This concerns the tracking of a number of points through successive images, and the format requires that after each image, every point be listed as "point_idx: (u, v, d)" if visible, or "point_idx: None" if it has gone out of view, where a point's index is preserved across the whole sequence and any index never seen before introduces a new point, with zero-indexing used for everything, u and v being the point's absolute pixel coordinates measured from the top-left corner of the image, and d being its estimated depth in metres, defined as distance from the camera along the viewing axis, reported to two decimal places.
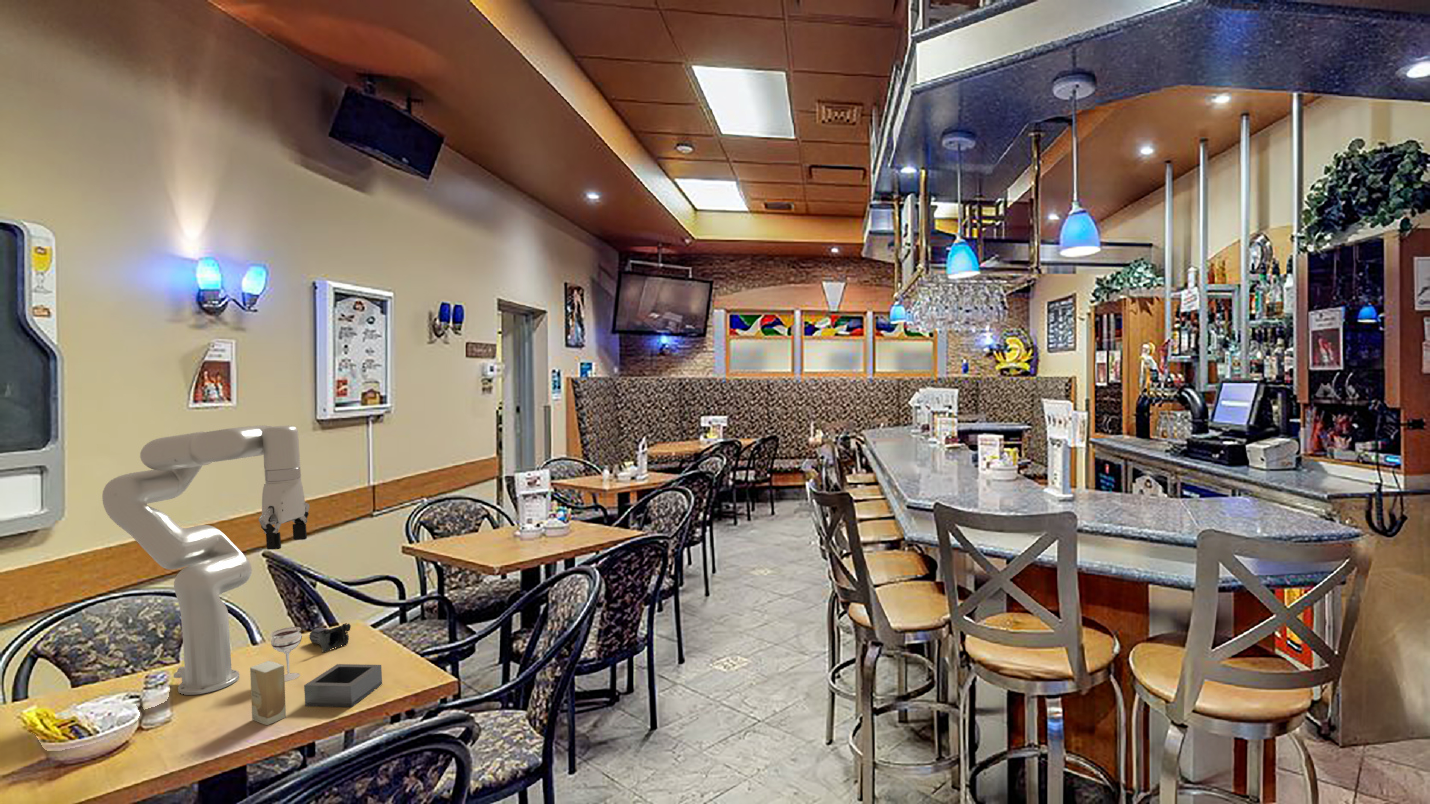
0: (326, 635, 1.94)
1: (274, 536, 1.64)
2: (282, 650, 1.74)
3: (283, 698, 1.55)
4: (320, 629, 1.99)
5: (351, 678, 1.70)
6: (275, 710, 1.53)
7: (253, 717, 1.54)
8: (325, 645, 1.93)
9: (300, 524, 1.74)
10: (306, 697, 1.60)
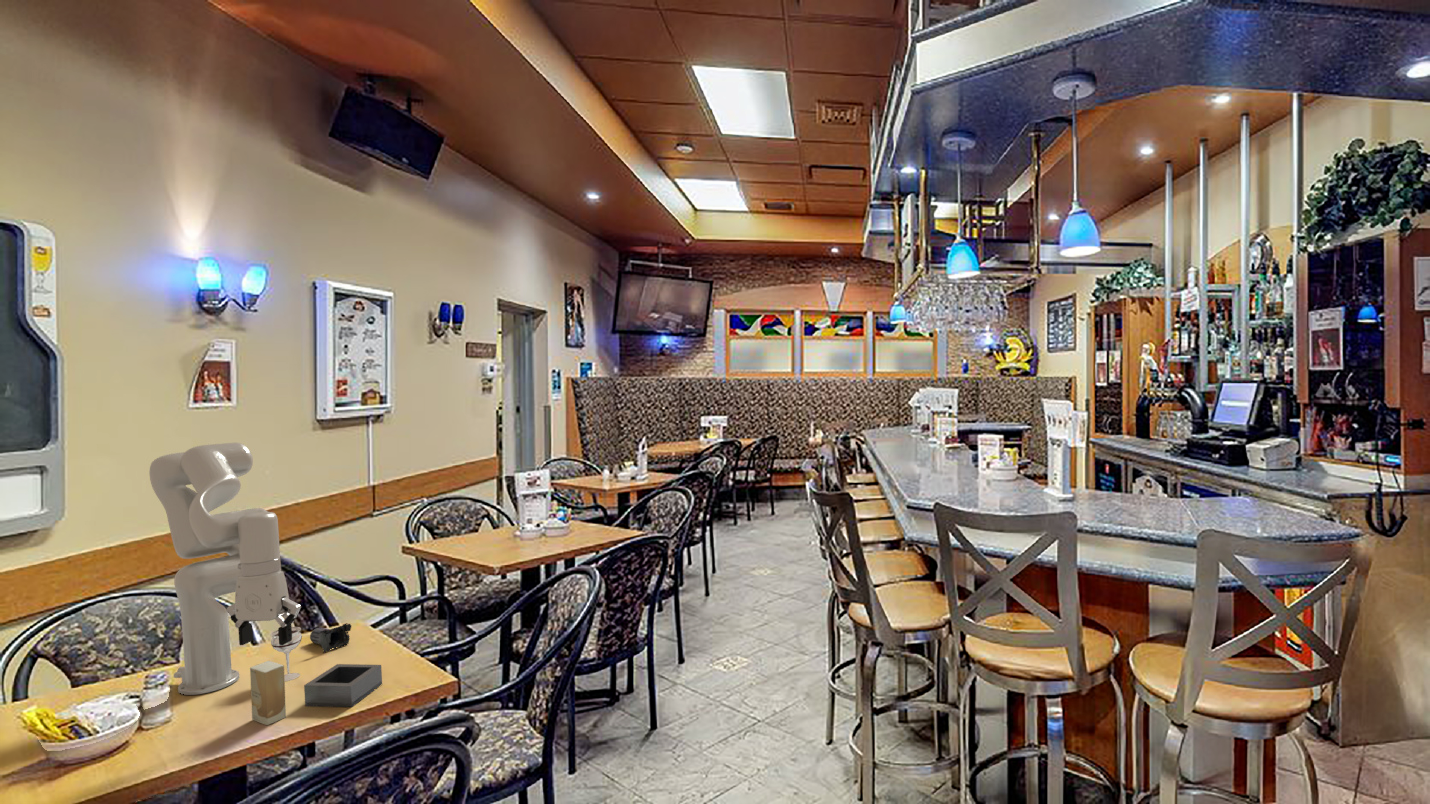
0: (327, 635, 1.94)
1: None
2: (282, 650, 1.74)
3: (283, 698, 1.55)
4: (321, 629, 1.99)
5: (351, 678, 1.70)
6: (275, 710, 1.53)
7: (253, 717, 1.54)
8: (326, 645, 1.93)
9: (248, 625, 1.55)
10: (306, 697, 1.60)
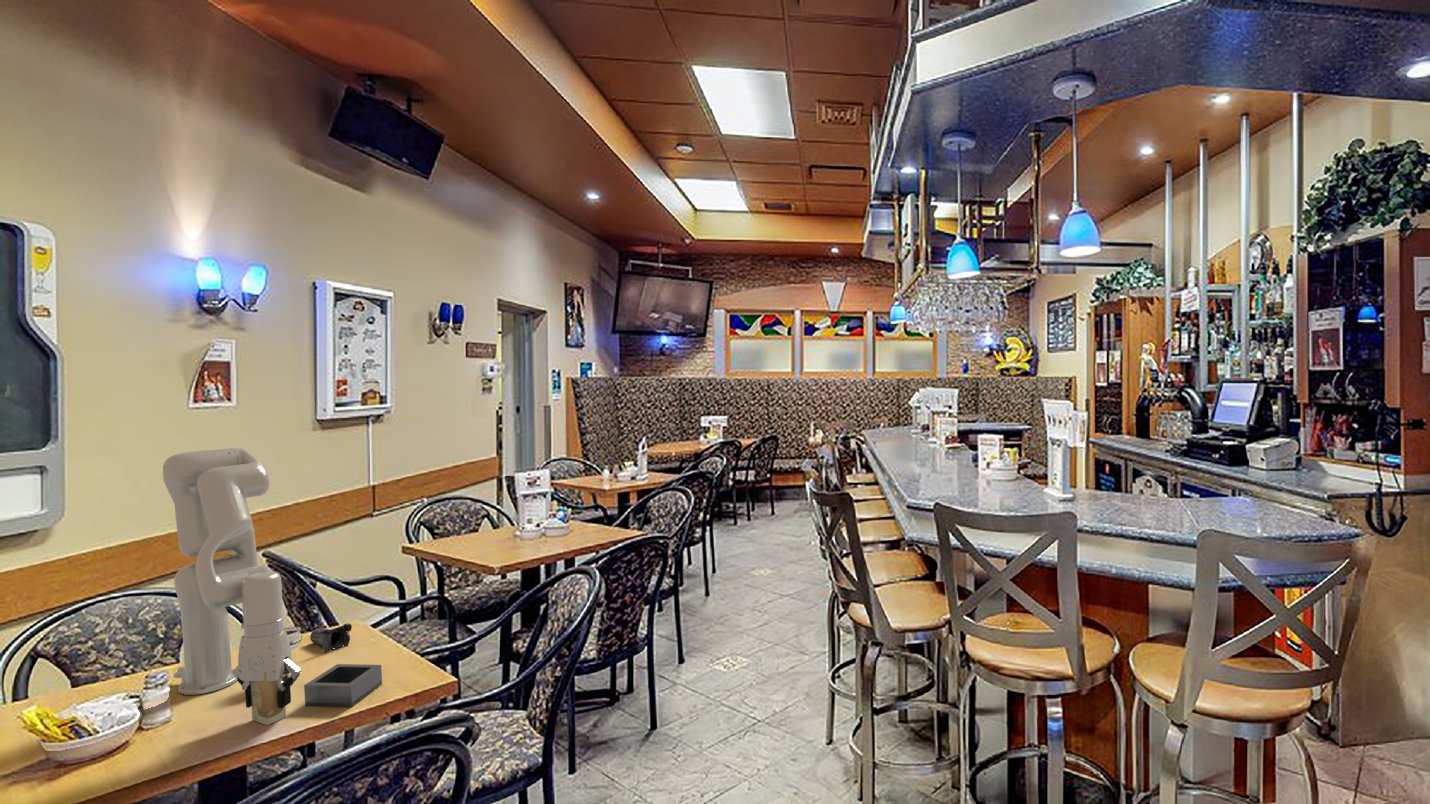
0: (327, 635, 1.93)
1: None
2: None
3: None
4: (321, 629, 1.99)
5: (351, 678, 1.70)
6: (275, 710, 1.53)
7: (253, 717, 1.54)
8: (326, 645, 1.93)
9: None
10: (306, 697, 1.60)
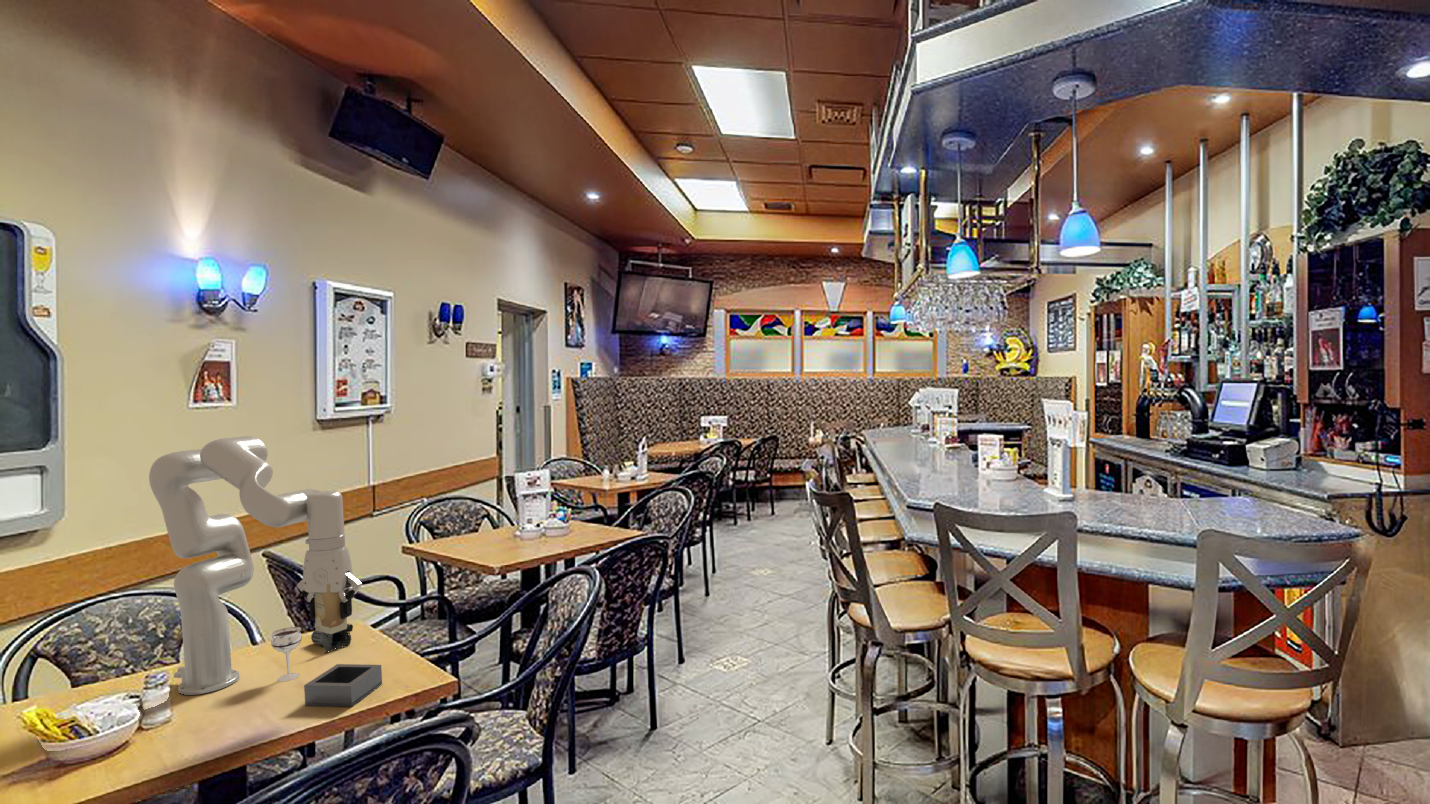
0: (329, 635, 1.93)
1: None
2: (282, 650, 1.74)
3: None
4: None
5: (351, 678, 1.70)
6: (338, 620, 1.62)
7: (317, 628, 1.63)
8: (328, 646, 1.93)
9: None
10: (306, 697, 1.60)
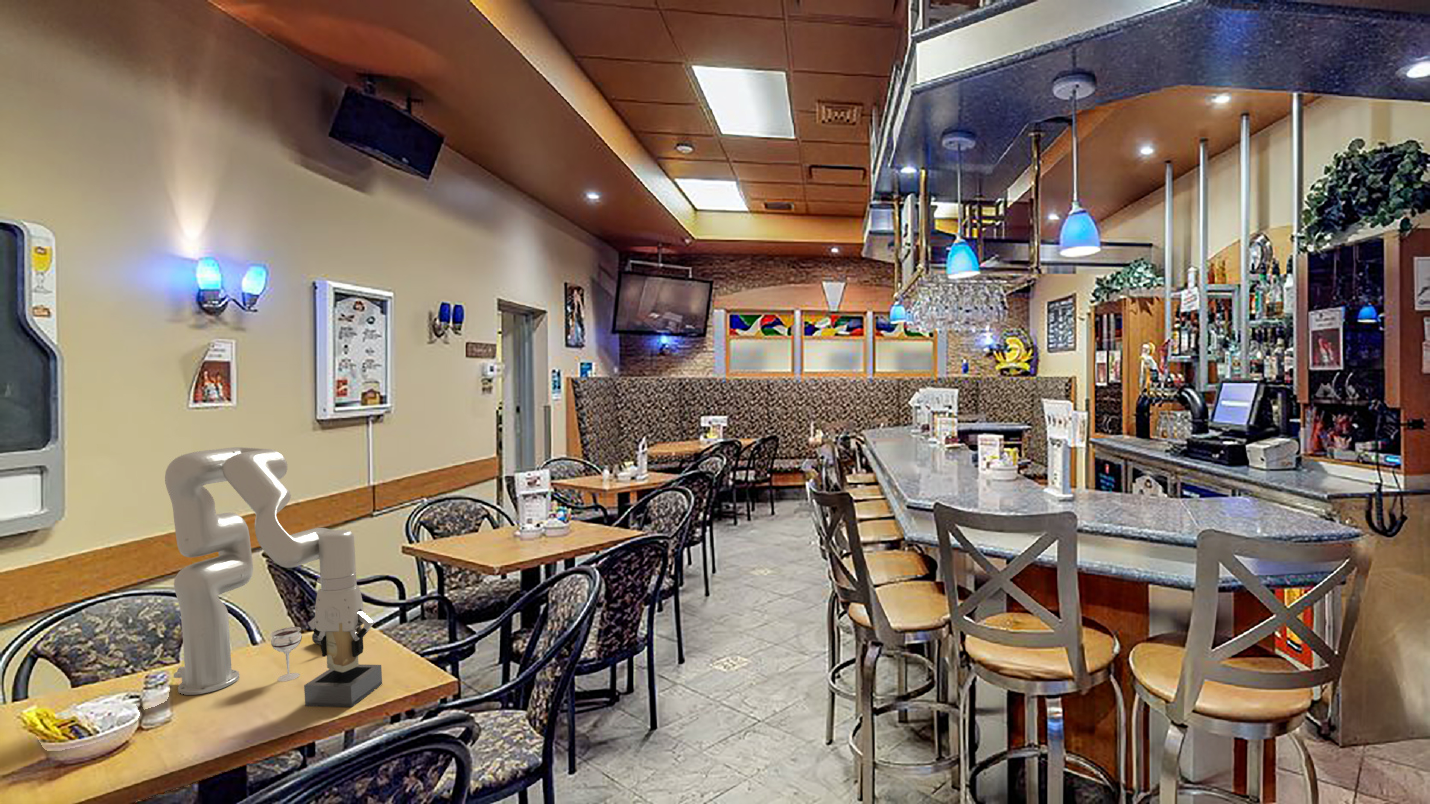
0: None
1: None
2: (282, 650, 1.74)
3: None
4: None
5: (351, 678, 1.70)
6: (349, 658, 1.64)
7: (328, 666, 1.65)
8: None
9: None
10: (306, 697, 1.60)
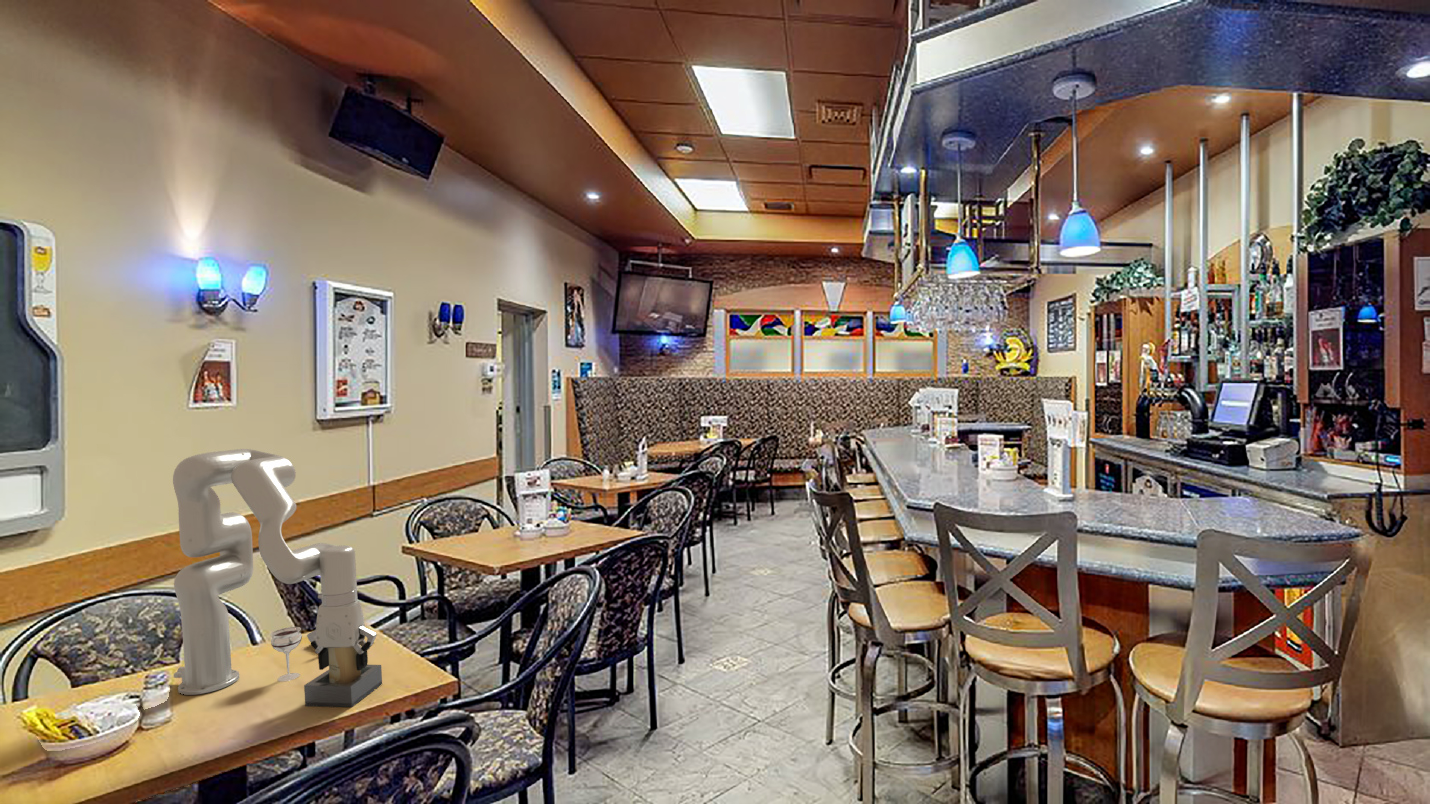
0: None
1: None
2: (282, 650, 1.74)
3: (359, 671, 1.66)
4: None
5: None
6: None
7: None
8: None
9: (326, 650, 1.66)
10: (306, 697, 1.60)
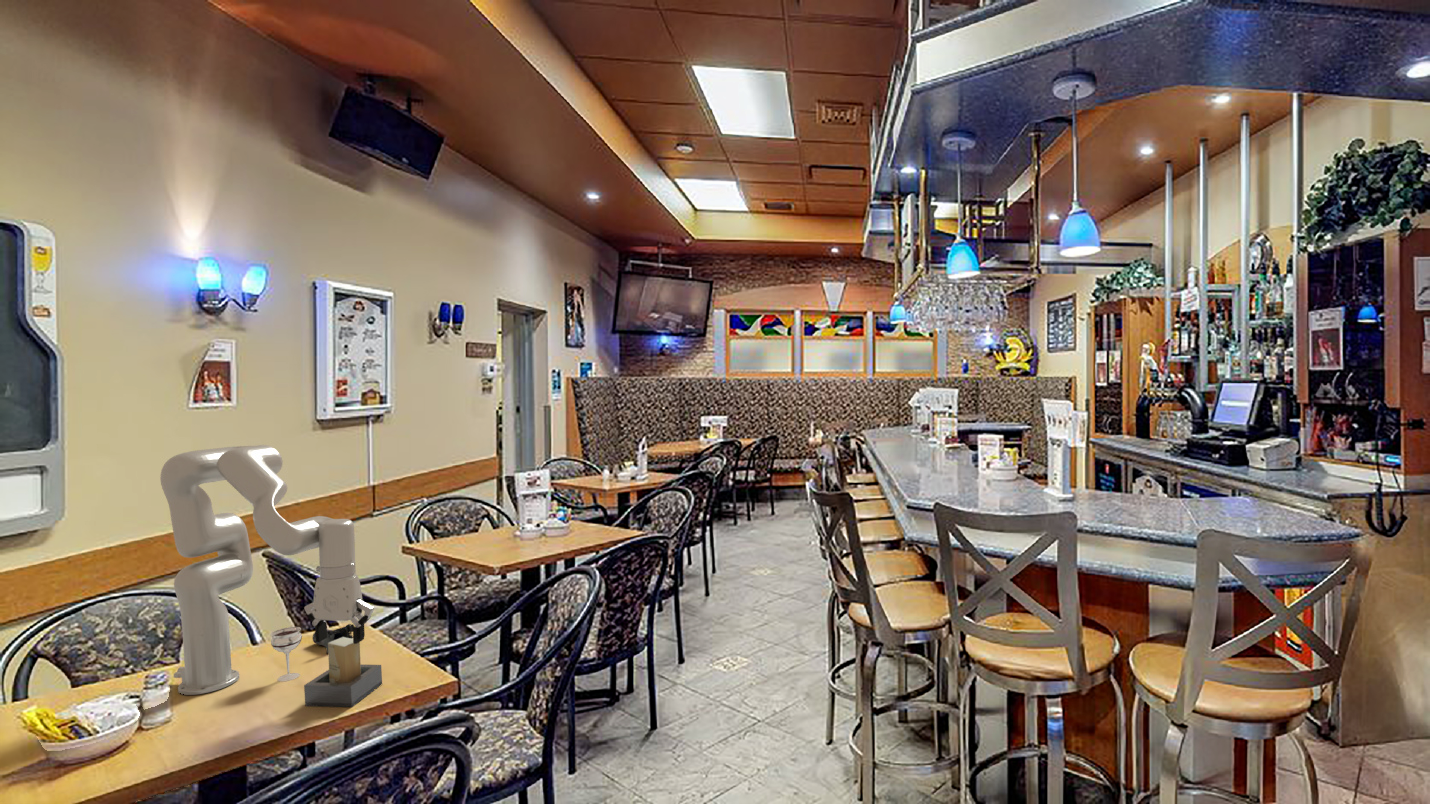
0: (330, 636, 1.93)
1: None
2: (282, 650, 1.74)
3: (359, 671, 1.66)
4: None
5: None
6: None
7: None
8: None
9: (323, 623, 1.66)
10: (306, 697, 1.60)
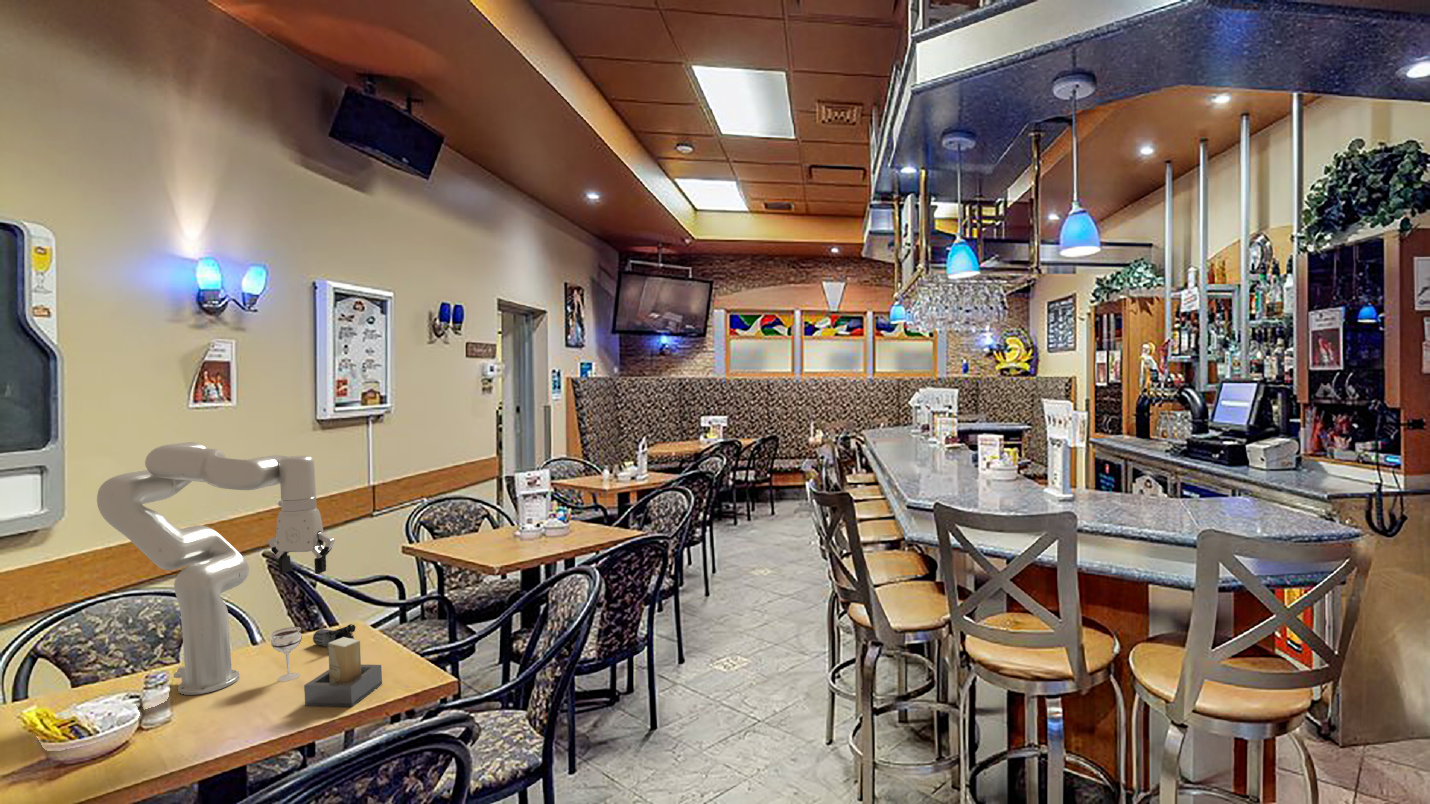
0: (332, 636, 1.93)
1: None
2: (282, 650, 1.74)
3: (359, 671, 1.66)
4: (324, 630, 1.98)
5: None
6: None
7: None
8: None
9: (286, 556, 1.73)
10: (306, 697, 1.60)
